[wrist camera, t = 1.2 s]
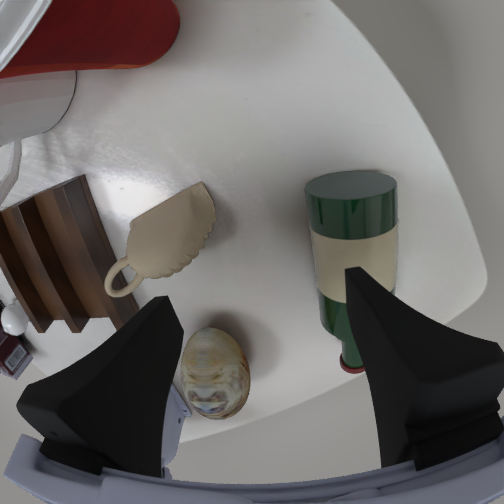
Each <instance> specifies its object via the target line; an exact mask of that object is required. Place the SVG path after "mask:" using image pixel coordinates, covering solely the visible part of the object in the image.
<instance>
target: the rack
mask: <svg viewBox="0 0 504 504" xmlns="http://www.w3.org/2000/svg"><path fill="white" fill-rule="evenodd" d="M116 262H117V260H116V258H115V256H114V253H113V251H112V249H111V246H110V244H109V241H108V239H107V236H106V234H105V231H104V229H103V226H102V224H101V221H100V218H99V216H98V213H97V210H96V207H95V205H94V202H93V199H92V196H91V193H90V190H89V187H88V184H87V181H86V178H85V175H84V174H83V175H80V176H78V177H75V178H73V179H70V180H68V181H65V182H63V183H60V184H58V185H56V186H53V187H51V188H49V189H46V190H44V191H42V192H40V193H37V194H35V195H33V196H31V197H29V198H26V199H24V200H22V201H20V202H18V203H16V204H14V205H12V206H10V207H8V208H6V209H4V210H2V211H0V267H1V269H2V271H3V273H4V275H5V277H6V279H7V281H8V283H9V285H10V287H11V288H12V290H13V292H14V294H15V296H16V297H17V299H18V301H19V303H20V304H21V306H22V308H23V310H24V311H25V313H26V315H27V316H28V318H29V319H30V321H31V323H32V324H33V326H34V327H35V329H36V330H37V332H38V333H45V332H46V330H47V329H48V328H49V326H50V325H51V323H52V322H53V321H54V320H65V322H66V324H67V325H68V327H69V328H70V330H71V332H72V333H81V331H82V330H83V328H84V327H85V325H86V324H87V322H88V321H89V319H90V318H102V317H109V318H110V319H111V321H112V323H113V325H114V326H115V328H116V330H117V331H118V330H119V329H120V328H121V327H122V326H123V325H124V324H126V323H127V322H128V321H129V320H130V319H131V318H132V317H133V316H134V315H135V314H136V313H137V312H138V311H139V308H138V306H137V304H136V302H135V300H134V298H133V296H132V294H131V293H129V294H127V295H125V296H123V297H112V296H110V295H108V293H107V292H106V290H105V279H106V276H107V274H108V272H109V270H110V269H111V267H112V266H113V265H114V264H115V263H116ZM126 286H128V285H127V283H126V281H125V278H124V276H123V274H122V272H121V270H120V271H119V272H118V273H117V274H116V275H115V277H114V279H113V281H112V289H113V290H121V289H123V288H125V287H126Z"/></svg>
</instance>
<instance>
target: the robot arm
mask: <svg viewBox="0 0 504 504" xmlns="http://www.w3.org/2000/svg"><path fill="white" fill-rule="evenodd" d="M344 270H345V288H346V310H347V314H348V319H349V323H350V327H351V331H352V334H353V337H354V340H355V343H356V346H357V349H358V351H359V354H360V357H361V360H362V363H363V366H364V369H365V372H366V375H367V378H368V382H369V385H370V391H371V396H372V401H373V406H374V412H375V418H376V424H377V431H378V439H379V447H380V457H381V469H377V470H372V471H368V472H363V473H358V474H352V475H347V476H341V477H335V478H328V479H320V480H312V481H303V482H291V483H276V484H215V483H200V482H189V481H179V480H172V475H171V474H170V471H169V469H168V468H167V467H165V465H167V464H168V463H170V462H171V461H172V460H173V458H174V457H175V455H176V452H177V448H178V444H179V439H180V435H181V430H182V426H183V422H184V417H191V415H192V413H191V411H190V410H189V408H188V407H187V405H186V404H185V402H184V401H183V399H182V398H181V396H180V395H179V393H178V392H177V390H176V389H175V387H174V385H173V384H172V381H173V378H174V375H175V371H176V368H177V364H178V361H179V358H180V354H181V349H182V343H183V335H184V330H183V328H182V326H181V324H180V322H179V320H178V317H177V315H176V313H175V311H174V309H173V306H172V304H171V302H170V300H169V297H168V295H167V296H159V297H154V298H153V299H152V300H151V301H149V302H148V303H147V304H146V305H145V306H144V307H143V308H142V309H140V310H139V311H138V312H137V313H136V314H135V315H134V316H133V317H132V318H131V319H130V320H129V321H128V322H127V323H126V324H124V325H123V326H122V327H121V328H120V329H119V330H118V331H117V332H115V333H114V334H113V335H112V336H111V337H110V338H109V339H108V340H106V341H105V342H104V343H103V344H101V345H100V346H99V347H98V348H96V349H95V350H93V351H92V352H91V353H89V354H88V355H86V356H85V357H83V358H82V359H80V360H79V361H77V362H75V363H74V364H72V365H71V366H69V367H67V368H65V369H63V370H61V371H60V372H57V373H55V374H53V375H51V376H49V377H47V378H44V379H42V380H39V381H37V382H34V383H32V384H29V385H28V386H27V387H26V388H25V390H24V391H23V393H22V395H21V397H20V398H19V400H18V402H17V405H16V406H17V409H18V411H19V413H20V414H21V415H22V417H23V418H24V419H25V420H26V421H27V422H28V423H29V424H30V425H31V426H32V427H33V428H35V429H36V430H37V431H38V432H39V433H40V434H41V435H42V436H43V437H45V438H44V441H43V443H42V442H40V441H39V440H37V439H35V438H33V437H30V436H28V435H25V434H21V437H20V438H19V441H18V443H17V445H16V447H15V449H14V451H13V453H12V456H11V458H10V460H9V462H8V464H7V467H6V469H5V472H4V474H3V475H4V477H6V478H7V479H9V480H10V481H12V482H13V483H15V484H16V485H18V486H19V487H21V488H22V489H24V490H25V491H27V492H29V493H30V494H32V495H34V496H35V497H37V498H39V499H40V500H42V501H44V502H46V503H48V504H488V503H490V502H492V501H494V500H495V499H497V498H499V497H500V496H503V495H504V416H503V417H502V418H501V419H500V417H499V414H498V412H497V411H498V410H499V409H500V404H499V403H498V400H497V397H498V396H499V394H500V393H501V391H502V389H503V388H504V352H503V350H502V349H501V348H500V346H499V345H498V343H496V342H492V341H488V340H484V339H481V338H477V337H473V336H470V335H467V334H464V333H462V332H459V331H456V330H454V329H451V328H449V327H447V326H445V325H442V324H440V323H438V322H436V321H434V320H432V319H430V318H428V317H426V316H425V315H423V314H421V313H420V312H418V311H416V310H414V309H413V308H411V307H410V306H408V305H407V304H405V303H404V302H402V301H401V300H400V299H398V298H397V297H396V296H394V295H393V294H392V293H391V292H389V291H388V290H387V289H386V288H384V287H383V286H382V285H381V284H380V283H378V282H377V281H376V280H375V279H374V278H373V277H372V276H370V275H369V274H368V273H367V272H366V271H365V270H364V269H363V268H361V267H360V266H357V267H352V268H346V269H344Z"/></svg>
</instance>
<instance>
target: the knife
mask: <svg viewBox="0 0 504 504" xmlns="http://www.w3.org/2000/svg"><path fill="white" fill-rule="evenodd" d="M4 308H5V307H4V306H3V304H2V303H1V301H0V311H1V313H2V311H3V309H4ZM18 337H19V338H20V339H21V340H22V341H24V342H25V343H26V341H25V340H24V338H23V336H22V334H21V335H18ZM26 344H27V343H26Z"/></svg>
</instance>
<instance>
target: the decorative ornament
mask: <svg viewBox="0 0 504 504" xmlns="http://www.w3.org/2000/svg"><path fill="white" fill-rule="evenodd" d="M215 221H216V213H215V206H214V203H213V200H212V198H211V197H210V195H209V193H208V191H207V189H206V188H205V186H204V185H203V183H202V182H200V183H197V184H195V185H193V186H191V187H189V188H187V189H186V190H184V191H182V192H180V193H178V194H176V195H175V196H173V197H171V198H169V199H168V200H166V201H164V202H163V203H161V204H159V205H158V206H156V207H154V208H153V209H151V210H149V211H148V212H146V213H144V214H142V215H140V216H139V217H137V218H135V219H134V220H132V221H131V223H130V227H131V230H130V233H129V236H128V240H127V249H126V255H127V256H125V257H123V258H121V259H120V260H118V261H117V262H116V263H115V264H114V265H113V266H112V267H111V269H110V270H109V272H108V274H107V276H106V279H105V290H106V292H107V293H108V295H110V296H112V297H123V296H125V295H127V294H129V293H131V292H132V291H134V290H135V289H136V288H137V287H138V286H139V284H140V283H141V282H142V280H143V279H144V277H145V278H149V277H150V278H151V279H158V278H161V277H170V276H171V275H172V274H173V273H174V272H175V273H177V272H180V271H181V270H182V269H183V268H184V267H185V266H187V265H189V264H190V263H191V262H192V259H195V258H196V257H197V256H198V255H199V250H200V249H202V248H204V242H205V239H207V238H208V233H210V232H211V231H212V225H213V223H214V222H215ZM128 265H130V267H131V268H132V269H133V270H134V271H135V272H136V273H137V274H136V276H135V277H134V279H133V280H132V282H131V283H130V284H129V285H128V286H126V287H125V288H123V289H121V290H113V289H112V281H113V279H114V277H115V275H116V274H117V273H118V272H119V271H120V270H121V269H123V268H124V267H126V266H128Z"/></svg>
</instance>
